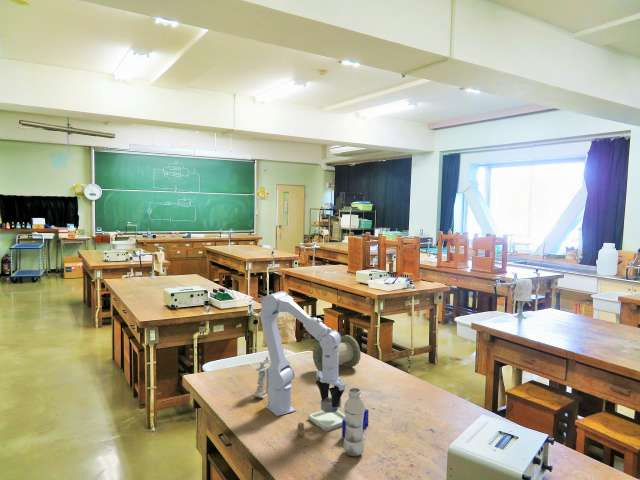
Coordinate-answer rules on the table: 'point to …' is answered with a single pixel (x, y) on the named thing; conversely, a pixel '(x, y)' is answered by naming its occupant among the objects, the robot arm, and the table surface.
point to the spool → (340, 352)
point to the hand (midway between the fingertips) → (330, 403)
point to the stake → (300, 429)
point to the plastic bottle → (354, 423)
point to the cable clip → (365, 423)
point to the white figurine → (262, 379)
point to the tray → (327, 419)
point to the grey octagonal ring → (329, 405)
